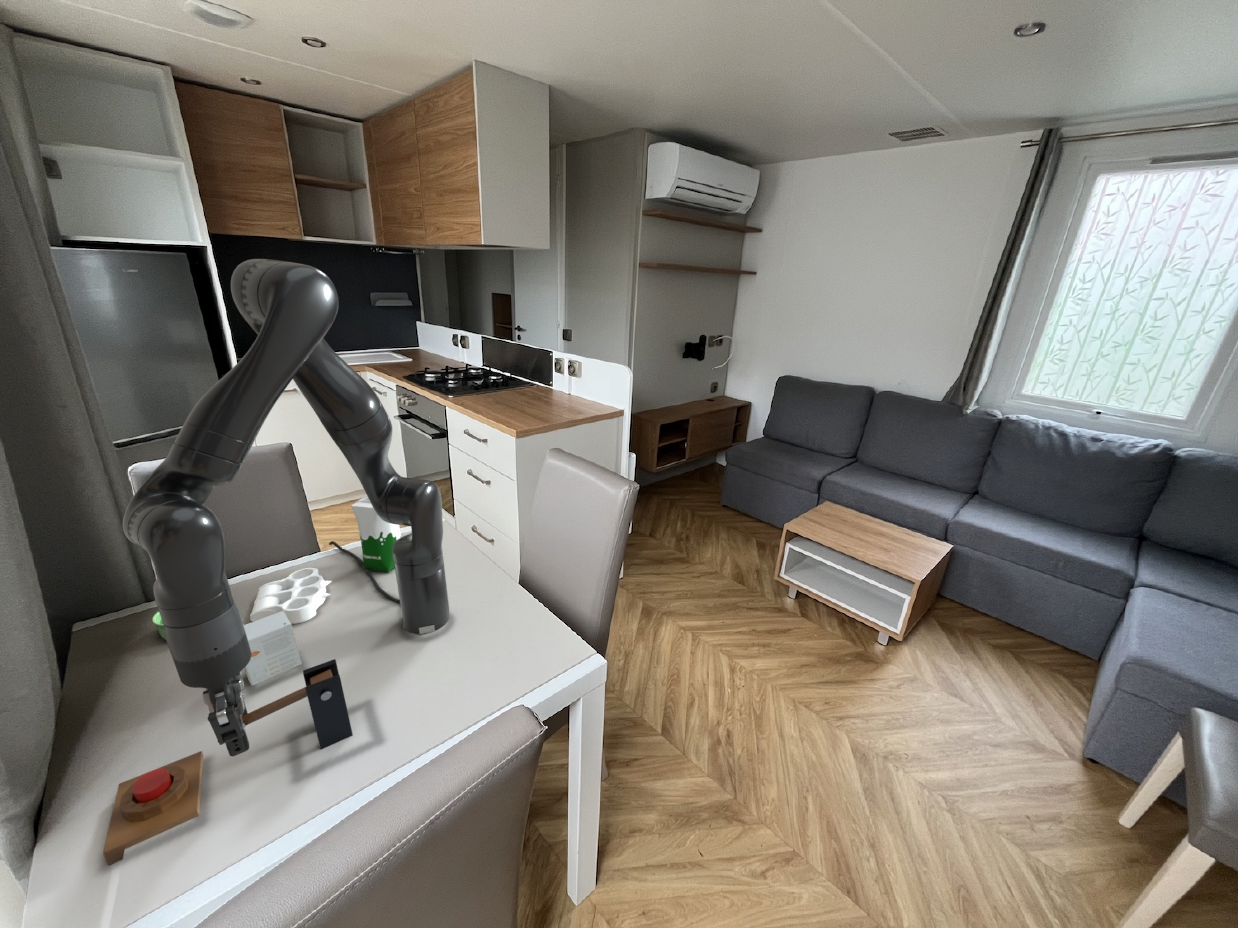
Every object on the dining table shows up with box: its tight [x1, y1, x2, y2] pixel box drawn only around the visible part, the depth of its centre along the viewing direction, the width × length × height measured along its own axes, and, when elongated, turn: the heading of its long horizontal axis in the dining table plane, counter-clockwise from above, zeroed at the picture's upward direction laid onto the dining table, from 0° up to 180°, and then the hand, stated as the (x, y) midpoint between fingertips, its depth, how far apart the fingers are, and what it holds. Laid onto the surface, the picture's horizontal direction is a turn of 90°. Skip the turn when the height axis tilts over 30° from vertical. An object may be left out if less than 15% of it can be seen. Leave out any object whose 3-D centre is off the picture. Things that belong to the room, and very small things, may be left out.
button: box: [132, 768, 172, 803], centre depth 66 cm, size 4×4×2 cm
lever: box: [242, 669, 333, 727], centre depth 72 cm, size 13×5×2 cm, turn 126°
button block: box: [102, 750, 204, 866], centre depth 67 cm, size 11×9×4 cm
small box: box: [243, 611, 303, 687], centre depth 89 cm, size 8×6×10 cm
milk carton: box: [350, 495, 402, 573], centre depth 124 cm, size 9×9×20 cm
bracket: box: [302, 658, 354, 750], centre depth 76 cm, size 11×9×13 cm
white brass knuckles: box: [249, 567, 332, 625], centre depth 111 cm, size 3×18×15 cm
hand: (240, 736), depth 70 cm, fingers closed on lever, 5 cm apart
